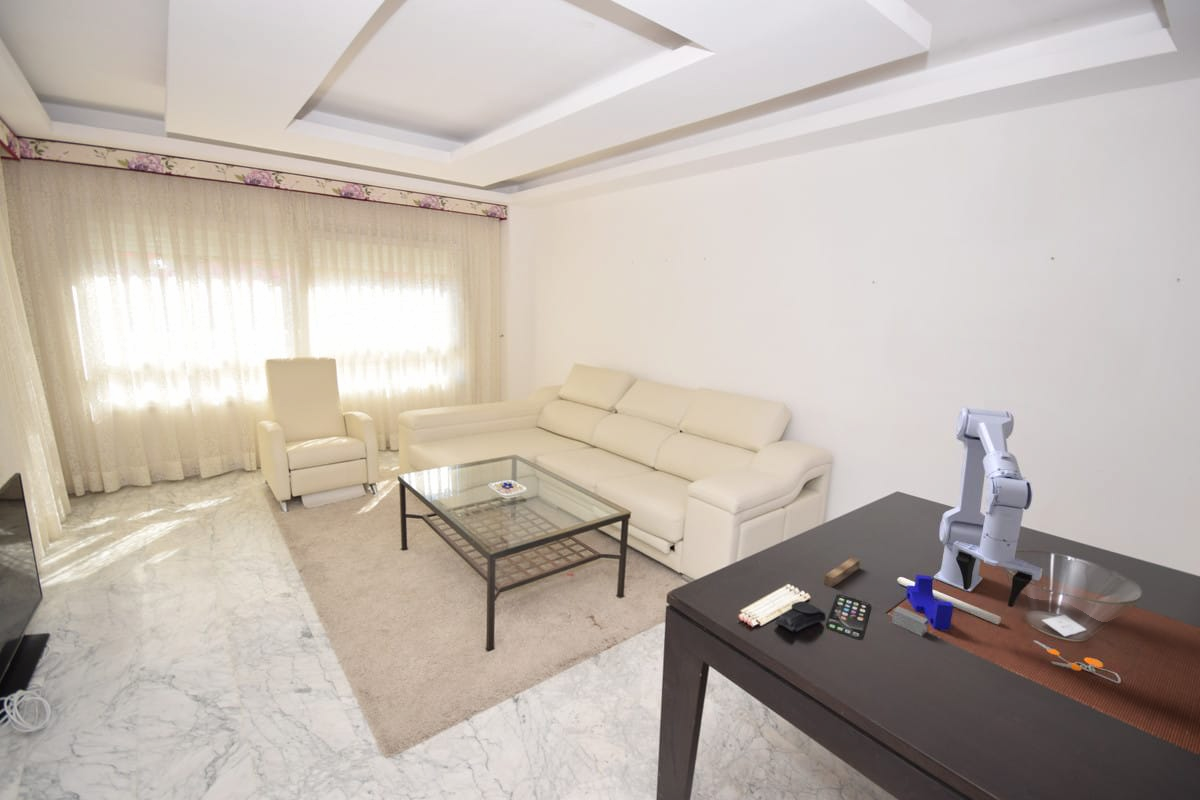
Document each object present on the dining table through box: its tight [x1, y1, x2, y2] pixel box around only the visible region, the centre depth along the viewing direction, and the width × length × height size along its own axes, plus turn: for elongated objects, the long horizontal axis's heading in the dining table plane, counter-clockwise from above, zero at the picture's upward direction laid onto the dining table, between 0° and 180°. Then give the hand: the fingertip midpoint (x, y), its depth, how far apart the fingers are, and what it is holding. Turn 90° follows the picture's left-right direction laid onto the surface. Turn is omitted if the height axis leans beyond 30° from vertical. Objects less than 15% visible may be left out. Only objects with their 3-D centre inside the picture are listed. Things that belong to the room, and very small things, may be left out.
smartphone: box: [824, 594, 871, 641], centre depth 117 cm, size 7×1×15 cm
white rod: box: [897, 576, 1002, 626], centre depth 122 cm, size 2×21×2 cm, turn 39°
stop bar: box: [823, 556, 861, 588], centre depth 132 cm, size 14×2×2 cm, turn 129°
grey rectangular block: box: [891, 605, 929, 637], centre depth 113 cm, size 2×6×3 cm, turn 39°
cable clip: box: [905, 574, 955, 631], centre depth 118 cm, size 12×4×6 cm, turn 169°
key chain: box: [1033, 639, 1122, 684], centre depth 103 cm, size 13×7×1 cm, turn 52°
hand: (988, 596), depth 108 cm, fingers open, 7 cm apart
